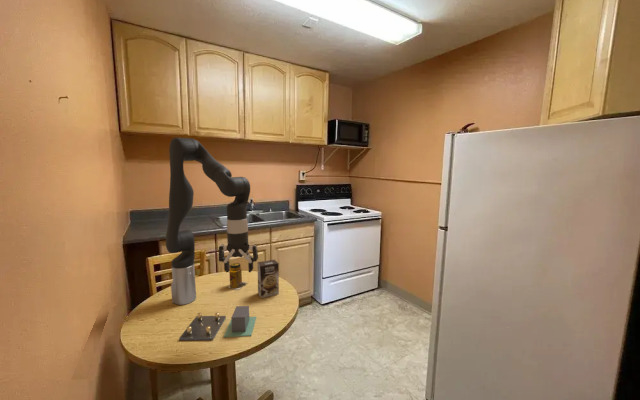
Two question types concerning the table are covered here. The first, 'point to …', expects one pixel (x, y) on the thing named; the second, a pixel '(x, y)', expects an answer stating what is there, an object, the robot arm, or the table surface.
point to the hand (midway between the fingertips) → (239, 271)
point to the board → (248, 332)
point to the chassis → (203, 327)
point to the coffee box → (268, 278)
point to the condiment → (236, 276)
